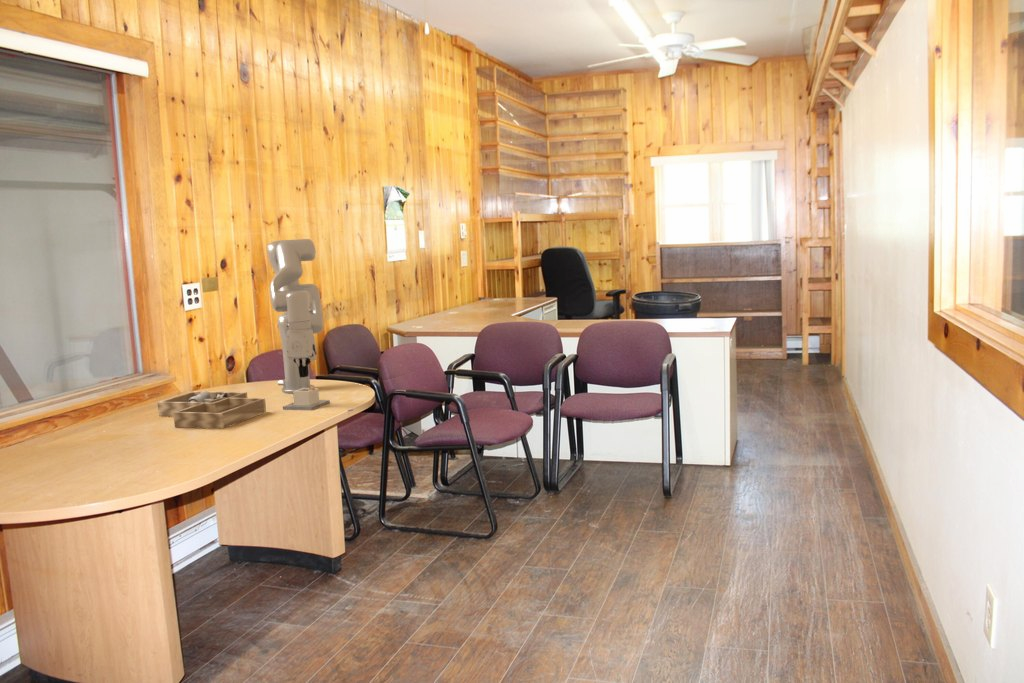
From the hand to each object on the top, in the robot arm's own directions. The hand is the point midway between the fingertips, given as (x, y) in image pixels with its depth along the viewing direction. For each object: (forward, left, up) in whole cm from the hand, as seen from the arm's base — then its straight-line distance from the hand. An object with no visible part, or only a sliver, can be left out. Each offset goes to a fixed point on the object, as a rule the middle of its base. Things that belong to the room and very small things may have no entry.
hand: (304, 376), depth 299 cm
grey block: (0, 0, -10) cm, 10 cm away
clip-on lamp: (-36, -11, -11) cm, 39 cm away
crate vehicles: (-19, -23, -11) cm, 32 cm away
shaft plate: (0, 0, -11) cm, 11 cm away
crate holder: (-36, -11, -11) cm, 39 cm away
